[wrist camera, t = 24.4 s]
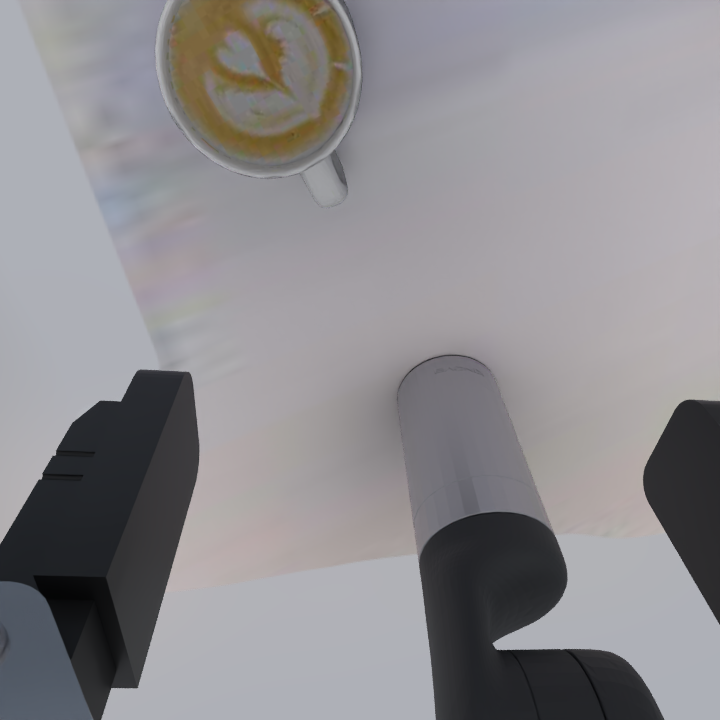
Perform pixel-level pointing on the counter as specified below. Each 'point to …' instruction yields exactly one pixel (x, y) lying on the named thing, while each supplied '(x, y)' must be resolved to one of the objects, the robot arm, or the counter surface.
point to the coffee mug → (263, 85)
